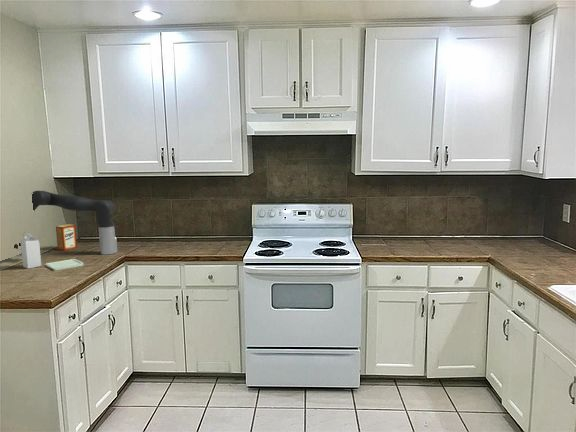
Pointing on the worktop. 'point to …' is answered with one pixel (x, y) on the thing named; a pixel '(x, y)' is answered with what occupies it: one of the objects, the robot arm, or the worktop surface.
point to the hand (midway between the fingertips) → (25, 245)
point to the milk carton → (30, 251)
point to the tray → (64, 264)
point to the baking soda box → (66, 237)
